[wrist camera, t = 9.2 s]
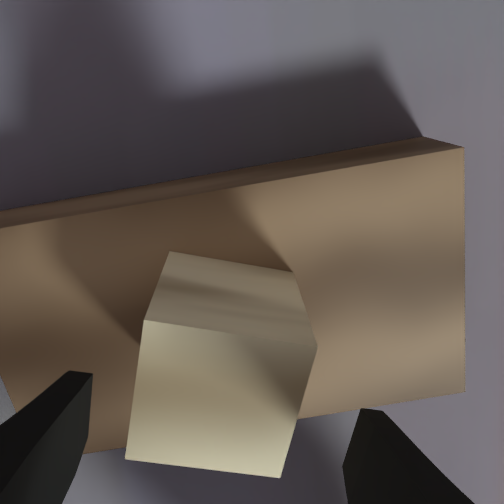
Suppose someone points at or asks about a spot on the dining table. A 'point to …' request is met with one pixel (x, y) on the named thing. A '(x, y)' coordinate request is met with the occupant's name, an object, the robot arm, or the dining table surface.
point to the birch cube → (220, 367)
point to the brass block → (257, 254)
